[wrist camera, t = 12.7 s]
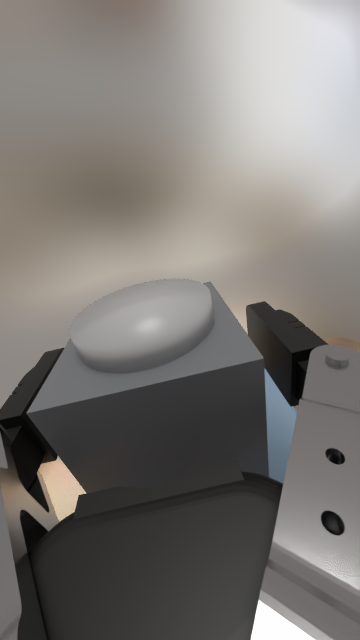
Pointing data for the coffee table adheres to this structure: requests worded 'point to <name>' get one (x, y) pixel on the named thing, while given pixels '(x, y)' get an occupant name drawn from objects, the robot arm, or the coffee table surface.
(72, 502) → the coffee table surface
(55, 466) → the coffee table surface
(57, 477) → the coffee table surface
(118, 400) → the block
